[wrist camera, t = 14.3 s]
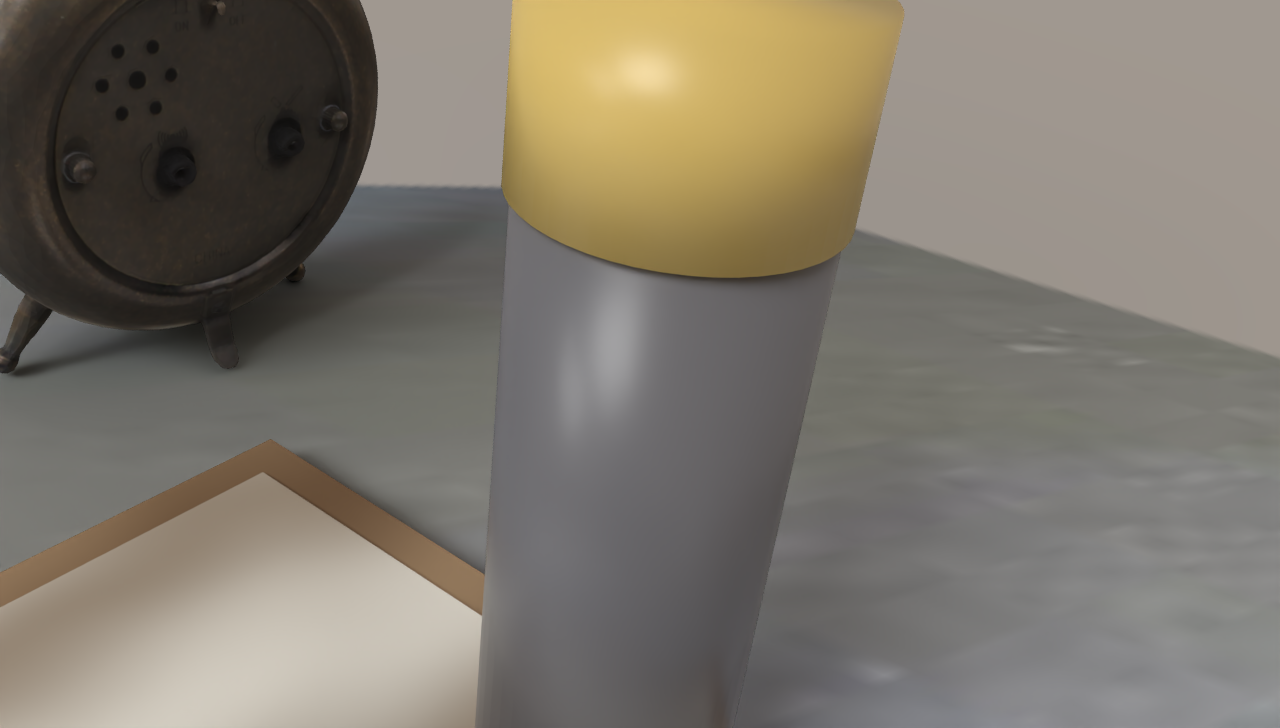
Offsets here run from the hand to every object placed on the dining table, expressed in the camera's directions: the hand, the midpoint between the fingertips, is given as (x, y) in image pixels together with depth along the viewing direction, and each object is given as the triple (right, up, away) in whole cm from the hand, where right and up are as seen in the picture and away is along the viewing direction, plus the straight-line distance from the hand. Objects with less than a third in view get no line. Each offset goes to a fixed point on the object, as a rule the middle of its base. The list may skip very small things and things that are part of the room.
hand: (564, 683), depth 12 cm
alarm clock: (-12, +4, +20) cm, 24 cm away
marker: (0, -4, +8) cm, 9 cm away
